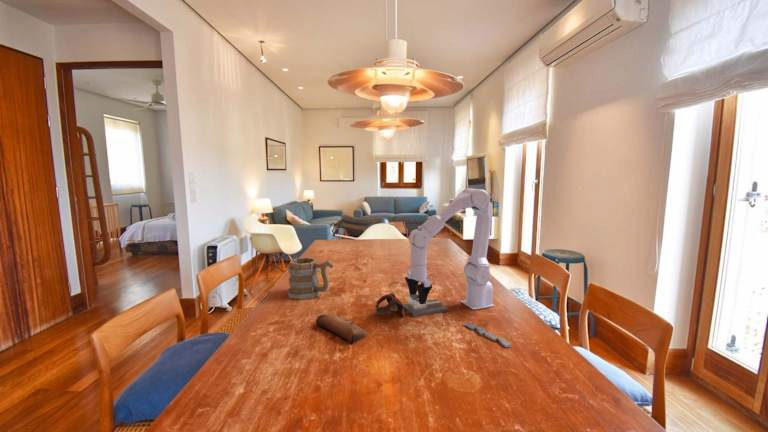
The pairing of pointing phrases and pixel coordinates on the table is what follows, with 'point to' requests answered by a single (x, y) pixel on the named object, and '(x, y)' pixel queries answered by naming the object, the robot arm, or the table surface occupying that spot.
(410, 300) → the end link
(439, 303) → the keeper
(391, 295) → the pottery mug
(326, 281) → the tankard
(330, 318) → the sunglasses case
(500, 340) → the chain
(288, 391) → the table surface
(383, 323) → the table surface
